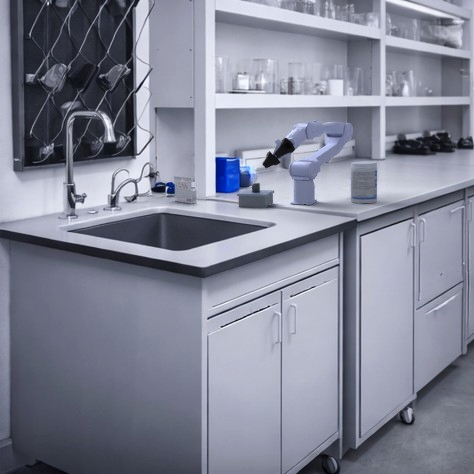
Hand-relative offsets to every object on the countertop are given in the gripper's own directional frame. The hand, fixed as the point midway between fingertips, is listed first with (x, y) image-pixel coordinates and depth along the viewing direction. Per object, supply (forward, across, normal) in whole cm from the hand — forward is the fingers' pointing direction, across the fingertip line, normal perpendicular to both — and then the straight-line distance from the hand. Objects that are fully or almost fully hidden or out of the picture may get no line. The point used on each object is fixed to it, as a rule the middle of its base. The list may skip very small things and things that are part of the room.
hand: (270, 160), depth 232 cm
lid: (-2, -19, +6) cm, 20 cm away
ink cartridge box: (+6, -43, -9) cm, 45 cm away
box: (-1, -21, +9) cm, 23 cm away
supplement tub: (-24, -2, +34) cm, 42 cm away
